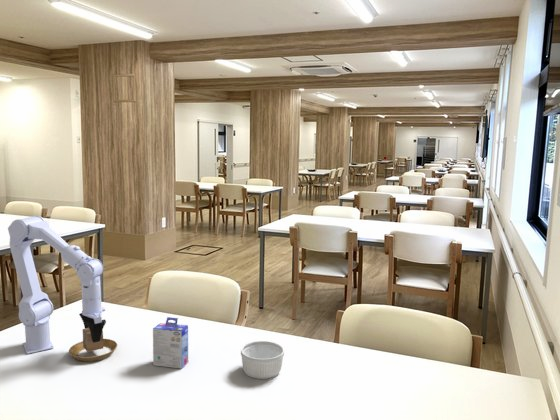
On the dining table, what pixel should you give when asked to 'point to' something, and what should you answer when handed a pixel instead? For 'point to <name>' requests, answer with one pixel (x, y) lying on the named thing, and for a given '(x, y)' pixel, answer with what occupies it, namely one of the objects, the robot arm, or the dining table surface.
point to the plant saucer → (79, 347)
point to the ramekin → (262, 359)
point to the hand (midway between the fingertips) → (93, 337)
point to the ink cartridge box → (170, 344)
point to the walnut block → (89, 343)
